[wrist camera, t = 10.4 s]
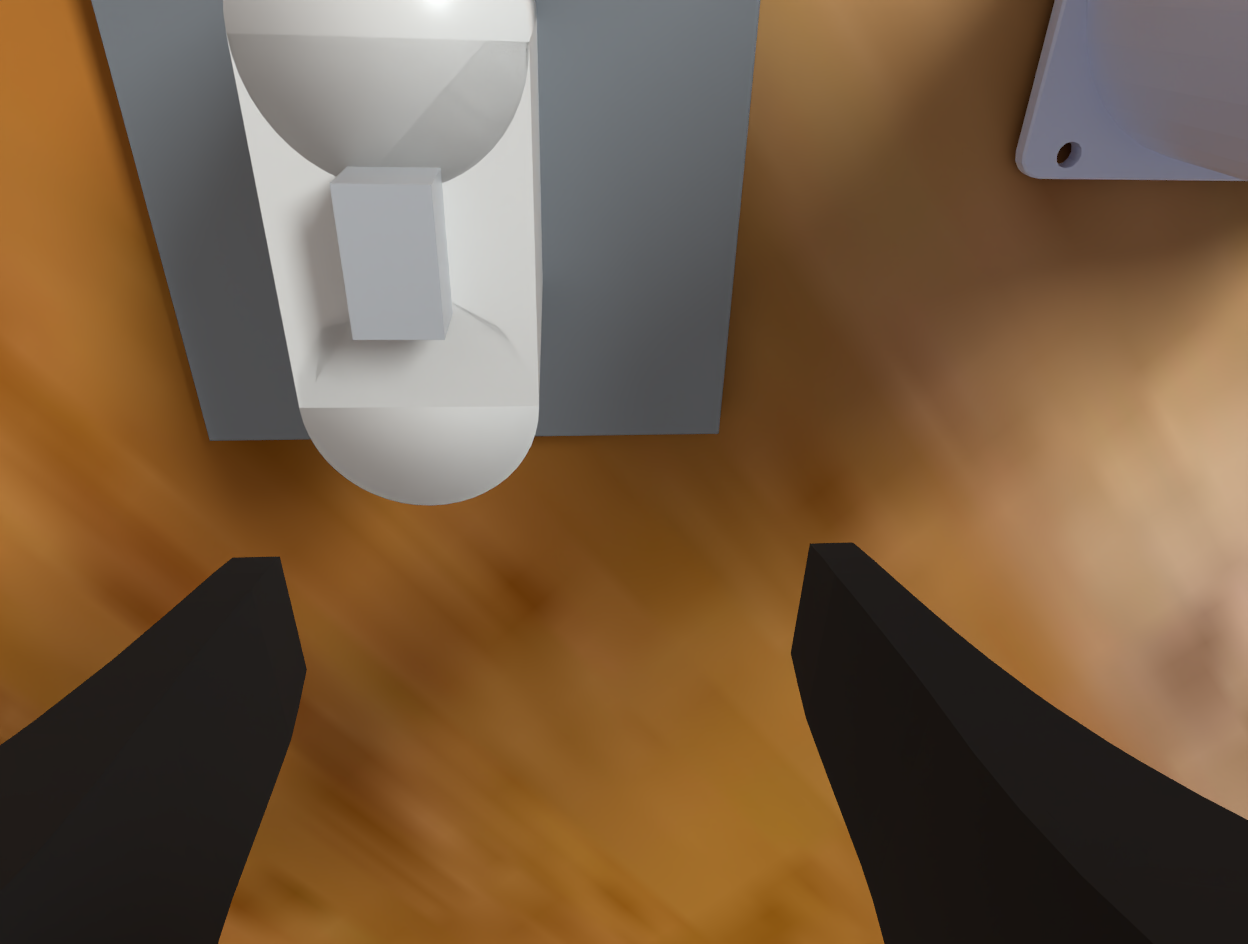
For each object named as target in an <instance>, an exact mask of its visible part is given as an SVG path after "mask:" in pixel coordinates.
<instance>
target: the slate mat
mask: <svg viewBox="0 0 1248 944" xmlns="http://www.w3.org/2000/svg"><path fill="white" fill-rule="evenodd" d="M91 1H92V5H93V8H94V12H95V16H96V20H97V23H98V27H99V31H100V34H101V38H102V42H103V46H104V49H105V53H106V57H107V60H108V64H109V68H110V72H111V75H112V79H113V83H114V86H115V90H116V94H117V98H118V101H119V105H120V109H121V112H122V116H123V120H124V124H125V127H126V131H127V135H128V138H129V142H130V146H131V150H132V153H133V157H134V161H135V164H136V168H137V172H138V176H139V179H140V183H141V187H142V190H143V194H144V198H145V202H146V205H147V209H148V213H149V216H150V220H151V224H152V228H153V231H154V235H155V239H156V242H157V246H158V250H159V254H160V257H161V261H162V265H163V269H164V272H165V276H166V280H167V283H168V287H169V291H170V295H171V298H172V302H173V306H174V309H175V313H176V317H177V321H178V324H179V328H180V332H181V335H182V339H183V343H184V347H185V350H186V354H187V358H188V361H189V365H190V369H191V373H192V376H193V380H194V384H195V387H196V391H197V395H198V399H199V402H200V406H201V410H202V413H203V417H204V421H205V425H206V428H207V432H208V436H209V439H210V441H223V440H295V439H311V438H310V436H309V435H308V432H307V430H306V428H305V425H304V423H303V420H302V416H301V413H300V409H299V404H298V399H297V394H296V389H295V384H294V378H293V373H292V368H291V363H290V358H289V353H288V348H287V343H286V337H285V332H284V327H283V322H282V317H281V312H280V307H279V302H278V296H277V291H276V286H275V281H274V276H273V271H272V266H271V261H270V255H269V250H268V245H267V240H266V235H265V230H264V225H263V220H262V214H261V209H260V204H259V199H258V194H257V189H256V184H255V179H254V173H253V168H252V163H251V158H250V153H249V148H248V143H247V138H246V132H245V127H244V122H243V117H242V112H241V107H240V102H239V96H238V91H237V86H236V81H235V76H234V71H233V66H232V61H231V55H230V50H229V45H228V40H227V35H226V28H225V21H224V14H223V0H91ZM535 2H536V13H537V47H538V93H539V138H540V183H541V228H542V273H543V287H542V321H541V355H540V389H539V417H538V424H537V429H536V434H535V436H584V435H656V434H719V424H720V413H721V403H722V393H723V382H724V372H725V361H726V351H727V341H728V330H729V320H730V310H731V299H732V289H733V278H734V268H735V258H736V247H737V237H738V226H739V216H740V206H741V195H742V185H743V174H744V164H745V154H746V143H747V133H748V122H749V112H750V102H751V91H752V81H753V70H754V60H755V50H756V39H757V29H758V18H759V8H760V0H535Z"/></svg>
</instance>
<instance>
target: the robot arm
mask: <svg viewBox="0 0 1248 944" xmlns="http://www.w3.org/2000/svg"><path fill="white" fill-rule="evenodd" d="M1069 142H1070V143H1071V145H1072V146H1071V153H1070V155H1069V157H1068V158H1067V159H1066V160H1065V161H1064V162H1063V163H1060V164H1058V163H1057V154H1058V152H1059V150H1060V148H1061V147H1063V146H1064V145H1065V144H1066V143H1069ZM1015 161H1016V164H1017V167H1018V169H1019V170H1020V171H1021V172H1022V173H1023V174H1025V175H1027V176H1030V177H1033V178H1037V179H1104V180H1200V181H1248V0H1055V1H1054V5H1053V9H1052V13H1051V17H1050V21H1049V25H1048V29H1047V33H1046V36H1045V40H1044V44H1043V48H1042V52H1041V56H1040V60H1039V64H1038V68H1037V71H1036V75H1035V79H1034V83H1033V87H1032V91H1031V95H1030V99H1029V103H1028V106H1027V110H1026V114H1025V118H1024V122H1023V126H1022V130H1021V134H1020V138H1019V141H1018V145H1017V149H1016V157H1015ZM791 656H792V660H793V665H794V669H795V674H796V678H797V683H798V687H799V691H800V695H801V699H802V703H803V707H804V712H805V716H806V719H807V722H808V725H809V727H810V730H811V733H812V736H813V738H814V741H815V744H816V747H817V749H818V752H819V755H820V757H821V760H822V763H823V765H824V768H825V771H826V773H827V776H828V779H829V781H830V784H831V787H832V789H833V792H834V795H835V797H836V800H837V802H838V805H839V808H840V810H841V813H842V816H843V818H844V821H845V824H846V826H847V829H848V831H849V834H850V837H851V839H852V842H853V845H854V847H855V850H856V853H857V855H858V858H859V860H860V863H861V866H862V869H863V872H864V875H865V878H866V881H867V884H868V887H869V890H870V893H871V896H872V899H873V903H874V906H875V910H876V914H877V917H878V921H879V925H880V928H881V932H882V936H883V939H884V943H885V944H1248V820H1246V819H1244V818H1243V817H1241V816H1239V815H1237V814H1235V813H1233V812H1231V811H1229V810H1227V809H1225V808H1223V807H1222V806H1220V805H1218V804H1216V803H1214V802H1212V801H1210V800H1208V799H1206V798H1204V797H1202V796H1201V795H1199V794H1197V793H1195V792H1193V791H1192V790H1190V789H1188V788H1186V787H1184V786H1183V785H1181V784H1179V783H1177V782H1176V781H1174V780H1172V779H1170V778H1169V777H1167V776H1165V775H1163V774H1162V773H1160V772H1158V771H1156V770H1155V769H1153V768H1151V767H1149V766H1147V765H1146V764H1144V763H1142V762H1140V761H1139V760H1137V759H1135V758H1134V757H1132V756H1130V755H1129V754H1127V753H1125V752H1124V751H1122V750H1120V749H1119V748H1117V747H1116V746H1114V745H1112V744H1111V743H1109V742H1107V741H1106V740H1104V739H1103V738H1101V737H1100V736H1098V735H1097V734H1095V733H1094V732H1092V731H1090V730H1089V729H1087V728H1086V727H1084V726H1083V725H1081V724H1080V723H1078V722H1077V721H1075V720H1074V719H1072V718H1071V717H1069V716H1068V715H1066V714H1065V713H1063V712H1062V711H1060V710H1058V709H1057V708H1055V707H1054V706H1053V705H1051V704H1050V703H1048V702H1047V701H1045V700H1044V699H1043V698H1041V697H1040V696H1038V695H1037V694H1035V693H1034V692H1033V691H1031V690H1030V689H1029V688H1027V687H1026V686H1025V685H1023V684H1022V683H1021V682H1019V681H1018V680H1017V679H1015V678H1014V677H1013V676H1011V675H1010V674H1009V673H1007V672H1006V671H1005V670H1003V669H1002V668H1001V667H999V666H998V665H997V664H995V663H994V662H993V661H991V660H990V659H989V658H988V657H986V656H985V655H984V654H983V653H981V652H980V651H979V650H978V649H976V648H975V647H974V646H973V645H971V644H970V643H969V642H968V641H966V640H965V639H964V638H963V637H961V636H960V635H959V634H958V633H957V632H955V631H954V630H953V629H952V628H951V627H949V626H948V625H947V624H946V623H945V622H943V621H942V620H941V619H940V618H939V617H938V616H936V615H935V614H934V613H933V612H932V611H931V610H929V609H928V608H927V607H926V606H925V605H924V604H923V603H921V602H920V601H919V600H918V599H917V598H916V597H915V596H913V595H912V594H911V593H910V592H909V591H908V590H907V589H905V588H904V587H903V586H902V585H901V584H900V583H899V582H898V581H896V580H895V579H894V578H893V577H892V576H891V575H890V574H889V573H887V572H886V571H885V570H884V569H883V568H882V567H881V566H880V565H878V564H877V563H876V562H875V561H874V560H873V559H872V558H870V557H869V556H868V555H867V554H866V553H865V552H863V551H862V550H861V549H860V548H859V547H857V546H856V545H855V544H854V543H818V544H810V547H809V552H808V558H807V564H806V570H805V575H804V581H803V587H802V592H801V598H800V604H799V609H798V615H797V621H796V627H795V632H794V638H793V644H792V649H791ZM306 670H307V669H306V665H305V661H304V656H303V652H302V648H301V644H300V640H299V636H298V631H297V627H296V623H295V619H294V615H293V610H292V606H291V602H290V598H289V594H288V590H287V585H286V581H285V577H284V573H283V569H282V564H281V560H280V557H245V558H232V559H230V560H229V561H228V562H227V563H225V564H224V565H223V566H222V567H220V568H219V569H218V570H217V571H216V572H214V573H213V574H212V575H211V576H210V577H209V578H207V579H206V580H205V581H204V582H203V583H202V584H200V585H199V586H198V587H197V588H196V589H195V590H194V591H192V592H191V593H190V594H189V595H188V596H187V597H186V598H184V599H183V600H182V601H181V602H180V603H179V604H178V605H176V606H175V607H174V608H173V609H172V610H171V611H169V612H168V613H167V614H166V615H165V616H164V617H163V618H161V619H160V620H159V621H158V622H157V623H155V624H154V625H153V626H152V627H151V628H150V629H148V630H147V631H146V632H145V633H144V634H143V635H141V636H140V637H139V638H138V639H137V640H135V641H134V642H133V643H132V644H131V645H130V646H128V647H127V648H126V649H125V650H124V651H122V652H121V653H120V654H119V655H118V656H117V657H115V658H114V659H113V660H112V661H110V662H109V663H108V664H107V665H105V666H104V667H103V668H102V669H100V670H99V671H98V672H97V673H95V674H94V675H93V676H91V677H90V678H89V679H88V680H86V681H85V682H84V683H82V684H81V685H80V686H79V687H77V688H76V689H75V690H73V691H72V692H71V693H70V694H68V695H67V696H66V697H64V698H63V699H62V700H61V701H59V702H58V703H57V704H55V705H54V706H53V707H52V708H50V709H49V710H48V711H46V712H45V713H44V714H43V715H41V716H40V717H39V718H38V719H36V720H35V721H33V722H32V723H31V724H29V725H28V726H27V727H25V728H24V729H22V730H21V731H20V732H18V733H17V734H16V735H14V736H13V737H11V738H10V739H8V740H7V741H6V742H4V743H3V744H1V745H0V944H218V942H219V938H220V935H221V932H222V929H223V926H224V923H225V919H226V916H227V913H228V910H229V907H230V904H231V901H232V898H233V896H234V893H235V890H236V887H237V885H238V882H239V879H240V877H241V874H242V871H243V869H244V866H245V863H246V861H247V858H248V855H249V853H250V850H251V847H252V845H253V842H254V839H255V836H256V834H257V831H258V828H259V826H260V823H261V820H262V818H263V815H264V812H265V810H266V807H267V804H268V802H269V799H270V796H271V794H272V791H273V788H274V785H275V783H276V780H277V777H278V774H279V772H280V769H281V766H282V763H283V761H284V758H285V755H286V752H287V749H288V746H289V744H290V741H291V737H292V733H293V729H294V725H295V721H296V717H297V712H298V708H299V703H300V699H301V694H302V689H303V685H304V680H305V675H306Z"/></svg>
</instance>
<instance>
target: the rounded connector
mask: <svg viewBox="0 0 1248 944" xmlns="http://www.w3.org/2000/svg"><path fill="white" fill-rule="evenodd" d="M223 14H224V21H225V28H226V35H227V40H228V45H229V50H230V55H231V61H232V66H233V71H234V76H235V81H236V86H237V91H238V96H239V102H240V107H241V112H242V117H243V122H244V127H245V132H246V138H247V143H248V148H249V153H250V158H251V163H252V168H253V173H254V179H255V184H256V189H257V194H258V199H259V204H260V209H261V214H262V220H263V225H264V230H265V235H266V240H267V245H268V250H269V255H270V261H271V266H272V271H273V276H274V281H275V286H276V291H277V296H278V302H279V307H280V312H281V317H282V322H283V327H284V332H285V337H286V343H287V348H288V353H289V358H290V363H291V368H292V373H293V378H294V384H295V389H296V394H297V399H298V404H299V409H300V413H301V416H302V420H303V423H304V425H305V428H306V430H307V432H308V435H309V436H310V438H311V440H312V442H313V443H314V445H315V447H316V448H317V449H318V451H319V452H320V453H321V455H322V456H323V457H324V458H325V460H326V461H327V462H328V463H329V464H330V465H331V466H332V467H333V468H334V469H335V470H336V471H338V472H339V473H340V474H341V475H343V476H344V477H345V478H346V479H348V480H349V481H351V482H352V483H354V484H356V485H357V486H359V487H360V488H362V489H364V490H366V491H368V492H371V493H373V494H375V495H378V496H380V497H383V498H386V499H389V500H393V501H397V502H401V503H407V504H414V505H444V504H451V503H456V502H461V501H464V500H467V499H471V498H474V497H476V496H478V495H481V494H483V493H485V492H487V491H489V490H490V489H492V488H494V487H495V486H497V485H498V484H500V483H501V482H502V481H504V480H505V479H506V478H507V477H509V476H510V475H511V473H512V472H513V471H514V470H515V469H516V468H517V467H518V466H519V465H520V463H521V462H522V460H523V459H524V458H525V456H526V454H527V452H528V451H529V449H530V447H531V445H532V442H533V439H534V436H535V434H536V429H537V424H538V417H539V389H540V355H541V321H542V287H543V273H542V228H541V183H540V138H539V93H538V47H537V13H536V2H535V0H223Z"/></svg>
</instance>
